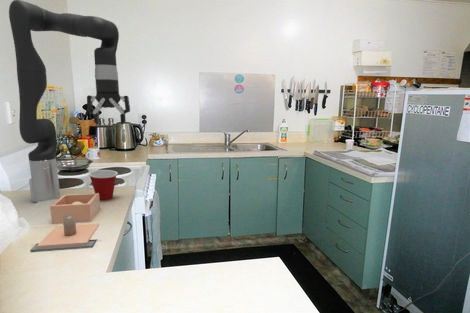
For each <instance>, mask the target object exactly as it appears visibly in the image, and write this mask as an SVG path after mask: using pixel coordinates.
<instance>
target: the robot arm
mask: <svg viewBox="0 0 470 313" xmlns="http://www.w3.org/2000/svg"><path fill="white" fill-rule="evenodd" d="M8 18H9V24H10V29H11V33H12V34H11V35H12V39H13V44H14V45H13V46H14V52H15V60H16V63H15V64H16V76H17V85H18V93H19V95H18V97H19V120H18V121H19V126H18V127H19V128H18V129H19V134H20V137H21V138H22V140H23V141H24V142H25V143H26V144H37V146H36V147H35V148H34V149H33V150H31V151H29V153H28V163H29V164H28V165H29V171H30V178H29V180H28V182H29V190H30V191H29V192H30V197H31V202H32V203H37V204H38V203H40V202H47V201H51V200H58V199H59V198H61V192H60V183H59V172H58V164H57V158H56V157H57V155H56V154H57V151H58V146H57V143H58V142H57V130H56V126H55V124H54V123H53V121H52V120H50V119H49V118H38V115H37V114H38V106H39V103H40V101H41V99H42V97H43V96H44V94H45V92H46V90H47V86H48V85H47V84H48V82H47V81H48V79H47V78H48V77H47V69H46V66H45V63H44V61H43V60H42V58H41V56H40V54H39V53H38V51H37V49H36V48H35V45H34V43H33V39H32V32H31V31H33V32H60V33H64V34H68V35H71V36H76V37H81V38H83V37H84V38H87V37H88V38H91V39H96V40H99V41H101V43H100V47H96V48H95V49H94V51H93V52H94V53H93V55H94V56H93V58H94V78H95V80H94V81H95V89H96V91H95V92H96V94H95V95H87V96H86V108H87V110H86V111H87V113H90V114H93V122H94V124H96V125H98V126H99V125H100V122H101V121H100V114H99V112H100V111H101V110H102V109H103V108H104V109H105V108H106V109H107V108H109V109H110V108H113V109H114V108H115V109H116V110H117V111H118V112H119V113H120V125H124V124H125V123H126V114H127V113H129V112H131V106H130V98H129V96H128V95H124V96H123V95H122V96H121V95H120V89H119V72H118V68H117V65H118V64H117V55H116V54H117V50H118V45H119V38H120V34H119V29H118V27H117V25H116V24H115V23H114V22H113V21H110V20H107V19H105V18H103V17H99V16H93V15H81V14H77V13H70V12H69V13H68V12H65V13H64V12H63V13H57V12H52V11H51V10H47V9H45V8H43V7H41V6H39V5H37V4H34V3H30V2H28V1H24V0H12V1H11V2H10V5H9V8H8ZM95 100H96V102H97V103H98V104H97V105H96V106H95V108H94V107H93V106H94V103H93V102H95ZM120 101H122V102H124V109H123V107H122V106H121V104H120V103H119V102H120Z"/></svg>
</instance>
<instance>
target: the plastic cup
mask: <svg viewBox="0 0 470 313" xmlns="http://www.w3.org/2000/svg"><path fill="white" fill-rule="evenodd" d="M88 176H89V177H90V181H91V183H92V187H93V190H94V193H99V198H100V202H104V201H110V200H112V199H114V191H115V184H116V178H117V177H118V171H116V170H111V169H100V170H99V169H97V170H93V171H90V172H89V173H88Z"/></svg>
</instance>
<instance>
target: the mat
mask: <svg viewBox="0 0 470 313" xmlns="http://www.w3.org/2000/svg"><path fill="white" fill-rule="evenodd" d="M97 240H98V239H90V241H89V243H88V245H80V246H66V247H52V248H38V249H37V245H38V244H39V243H40V242H38V243H35V245H34V246H33V247H32V248H30V253H34V252H47V251H51V252H52V251H63V250H75V249H77V250H78V249H91V248H94V247H95V246H94V245H95V244H96V242H97Z"/></svg>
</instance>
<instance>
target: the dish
mask: <svg viewBox="0 0 470 313" xmlns="http://www.w3.org/2000/svg"><path fill="white" fill-rule="evenodd" d="M74 202H81V203H83V204H72V203H74ZM49 209H50V210H49V211H50V217H51V224H52V225H53V224H54V225H55V224H57V225H58V224H63V217H64V216H66V215H75V223H88V222H92V221H93V219H94V218H95V217H96V215H97V214H98V213H99V211H100V210H101V201H100V198H99V193H95V192H94V193H93V192H92V193H77V194H76V193H75V194H74V193H72V194H63V195H62V196H60V198H59V199H56V201H54V202H53V203H52V204H51V205H49Z"/></svg>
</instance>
